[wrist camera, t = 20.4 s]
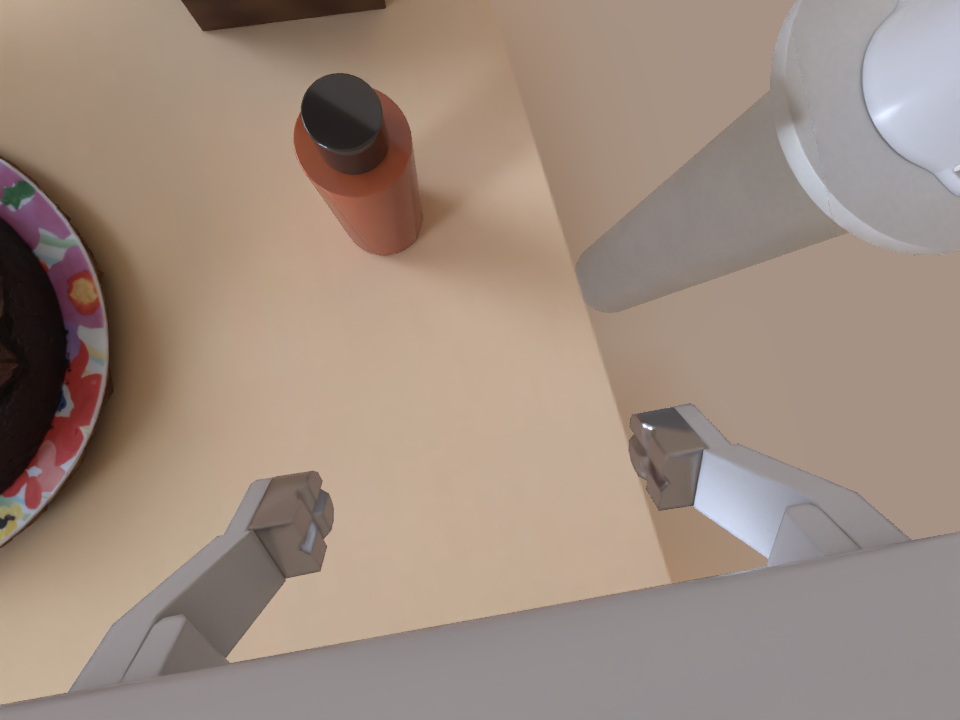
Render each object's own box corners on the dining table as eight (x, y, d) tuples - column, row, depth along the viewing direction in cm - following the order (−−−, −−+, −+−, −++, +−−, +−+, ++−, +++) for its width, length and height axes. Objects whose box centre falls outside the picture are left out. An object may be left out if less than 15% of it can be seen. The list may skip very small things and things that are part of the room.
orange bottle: (414, 172, 27) (393, 39, 16) (429, 247, 27) (419, 164, 16) (336, 185, 27) (261, 57, 16) (352, 261, 27) (288, 186, 16)
